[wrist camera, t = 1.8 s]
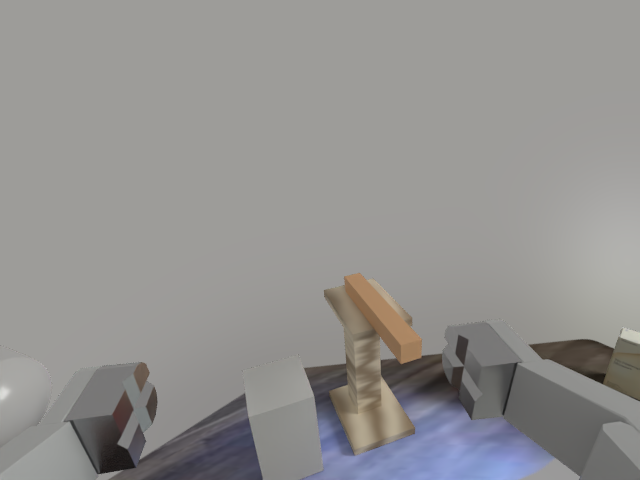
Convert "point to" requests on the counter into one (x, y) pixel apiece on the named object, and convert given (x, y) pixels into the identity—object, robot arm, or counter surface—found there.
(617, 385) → the skincare box
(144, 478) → the counter surface
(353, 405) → the tall stand
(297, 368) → the pedestal
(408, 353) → the bar
